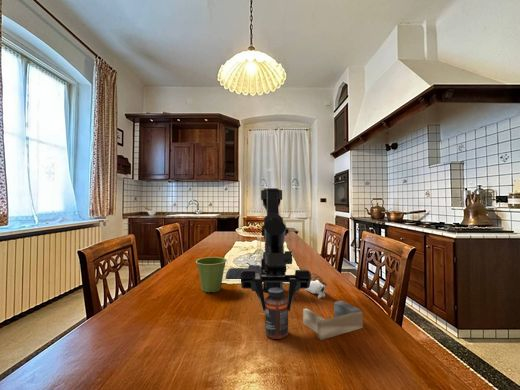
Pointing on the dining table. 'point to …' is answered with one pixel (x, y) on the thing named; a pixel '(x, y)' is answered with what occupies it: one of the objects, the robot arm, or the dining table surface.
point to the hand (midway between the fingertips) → (276, 310)
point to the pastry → (316, 278)
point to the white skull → (316, 288)
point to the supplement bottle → (276, 314)
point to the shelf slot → (334, 320)
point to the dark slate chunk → (236, 272)
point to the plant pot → (211, 273)
